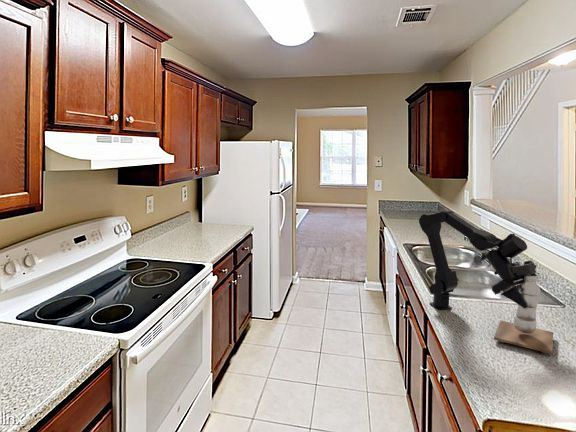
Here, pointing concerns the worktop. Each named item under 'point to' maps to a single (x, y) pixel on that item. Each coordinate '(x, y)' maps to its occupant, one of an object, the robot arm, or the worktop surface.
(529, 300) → the plastic bottle
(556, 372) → the worktop surface
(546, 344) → the shelf board
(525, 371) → the worktop surface
